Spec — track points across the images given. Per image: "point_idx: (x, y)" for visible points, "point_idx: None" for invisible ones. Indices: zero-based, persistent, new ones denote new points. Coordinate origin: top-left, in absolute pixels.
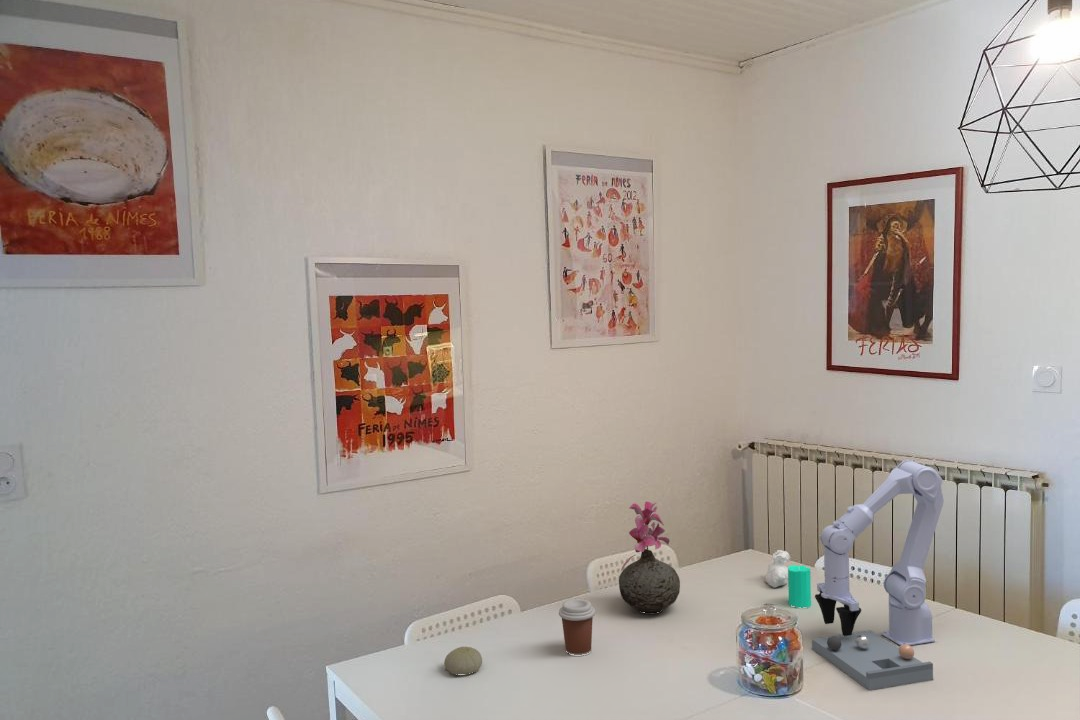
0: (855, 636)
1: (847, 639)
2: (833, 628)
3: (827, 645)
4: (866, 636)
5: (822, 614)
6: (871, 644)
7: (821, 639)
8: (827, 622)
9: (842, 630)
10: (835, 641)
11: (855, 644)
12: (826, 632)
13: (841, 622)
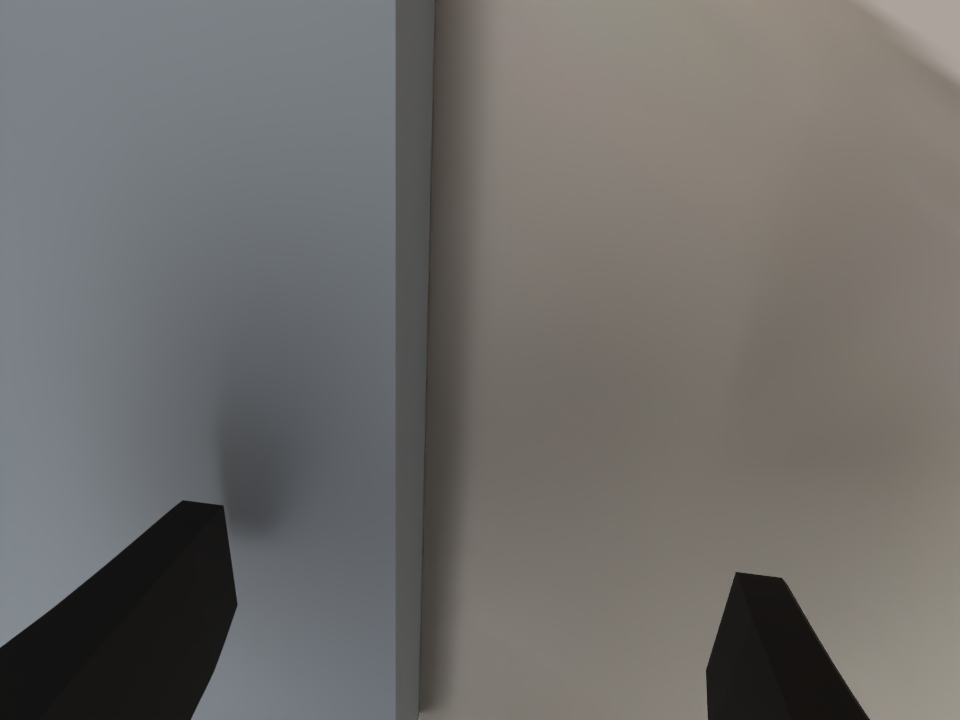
0: (275, 628)
1: (203, 495)
2: (886, 646)
3: (14, 55)
4: (240, 710)
5: (850, 705)
6: (2, 617)
7: (304, 131)
8: (734, 612)
9: (150, 553)
10: None
11: (19, 476)
12: (845, 517)
13: (43, 676)
